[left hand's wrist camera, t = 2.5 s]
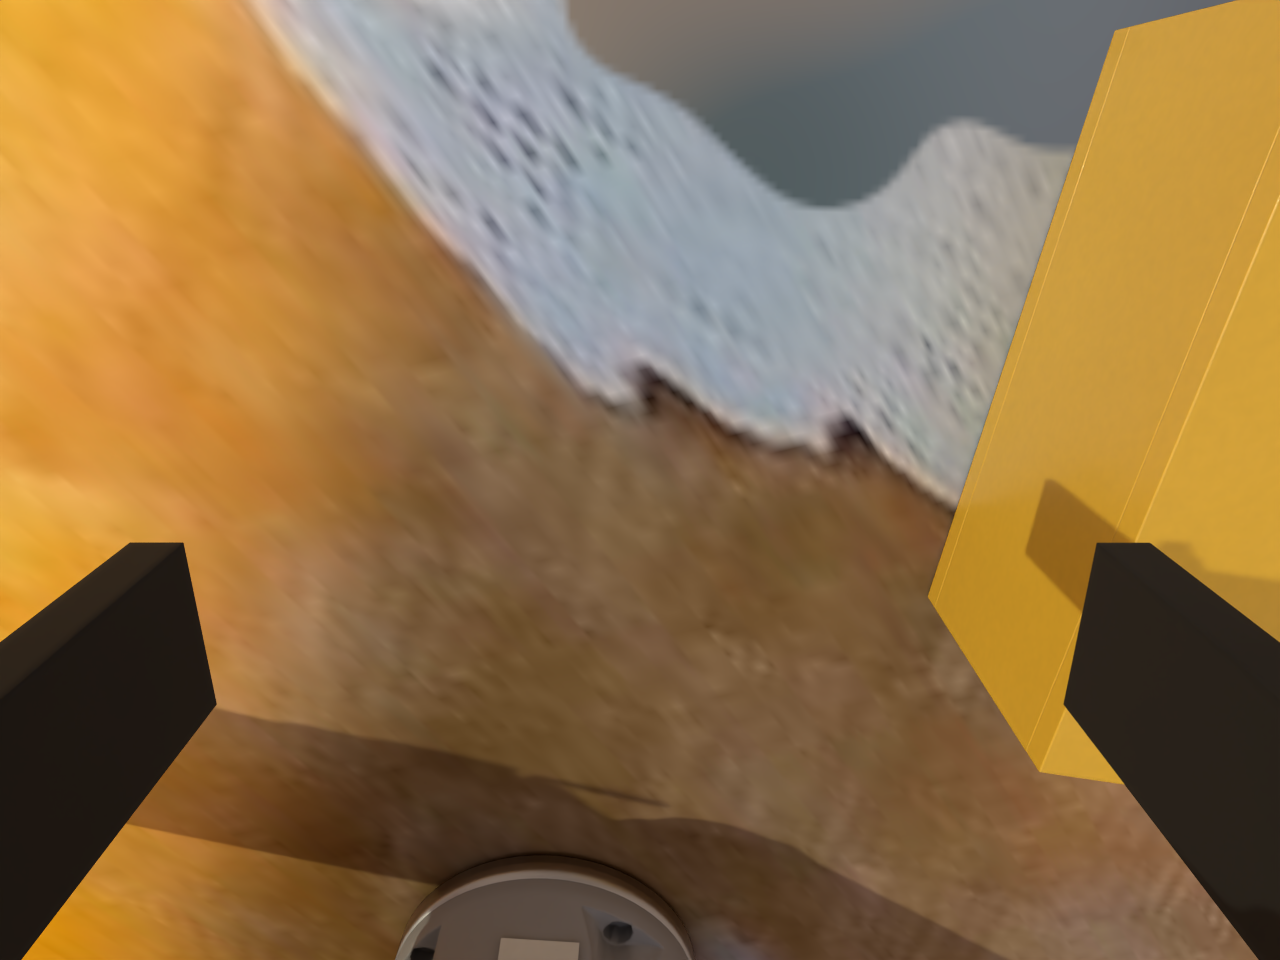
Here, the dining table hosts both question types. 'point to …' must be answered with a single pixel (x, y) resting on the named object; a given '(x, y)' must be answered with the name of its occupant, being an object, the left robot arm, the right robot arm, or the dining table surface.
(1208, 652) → the left robot arm
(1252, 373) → the yellow rectangular block
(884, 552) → the dining table surface
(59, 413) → the dining table surface
